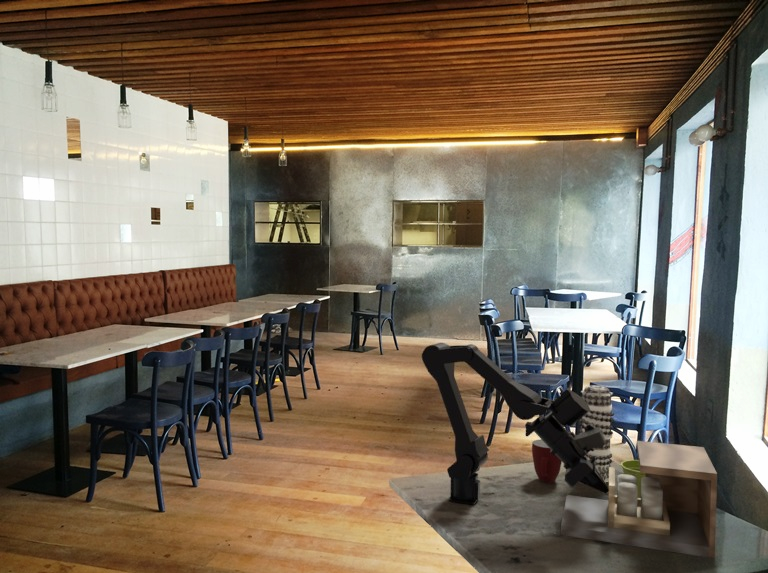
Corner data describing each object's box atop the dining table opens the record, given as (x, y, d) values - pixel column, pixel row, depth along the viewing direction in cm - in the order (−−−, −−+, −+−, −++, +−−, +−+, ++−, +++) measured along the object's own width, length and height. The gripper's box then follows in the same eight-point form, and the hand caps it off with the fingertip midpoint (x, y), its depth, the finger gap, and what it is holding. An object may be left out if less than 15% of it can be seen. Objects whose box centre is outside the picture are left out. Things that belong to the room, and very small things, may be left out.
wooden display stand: (560, 534, 133) (562, 456, 132) (566, 503, 151) (568, 434, 150) (714, 558, 123) (717, 473, 122) (701, 521, 141) (703, 447, 140)
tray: (608, 526, 133) (609, 485, 132) (608, 504, 145) (609, 466, 144) (669, 535, 128) (670, 492, 128) (664, 512, 141) (665, 473, 140)
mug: (562, 490, 159) (563, 451, 159) (530, 487, 162) (530, 449, 161) (562, 476, 170) (563, 440, 169) (532, 473, 172) (532, 438, 171)
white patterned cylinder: (572, 479, 168) (574, 387, 167) (583, 470, 175) (584, 382, 175) (607, 486, 163) (609, 391, 162) (616, 476, 170) (618, 386, 169)
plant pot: (641, 510, 147) (642, 474, 147) (611, 496, 155) (612, 462, 155) (670, 504, 151) (670, 469, 150) (639, 491, 159) (640, 457, 159)
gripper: (581, 425, 131) (637, 483, 128) (585, 406, 149) (634, 457, 145) (543, 458, 134) (596, 515, 131) (550, 436, 152) (598, 486, 148)
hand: (607, 491), depth 139 cm, fingers closed, pressing on tray
